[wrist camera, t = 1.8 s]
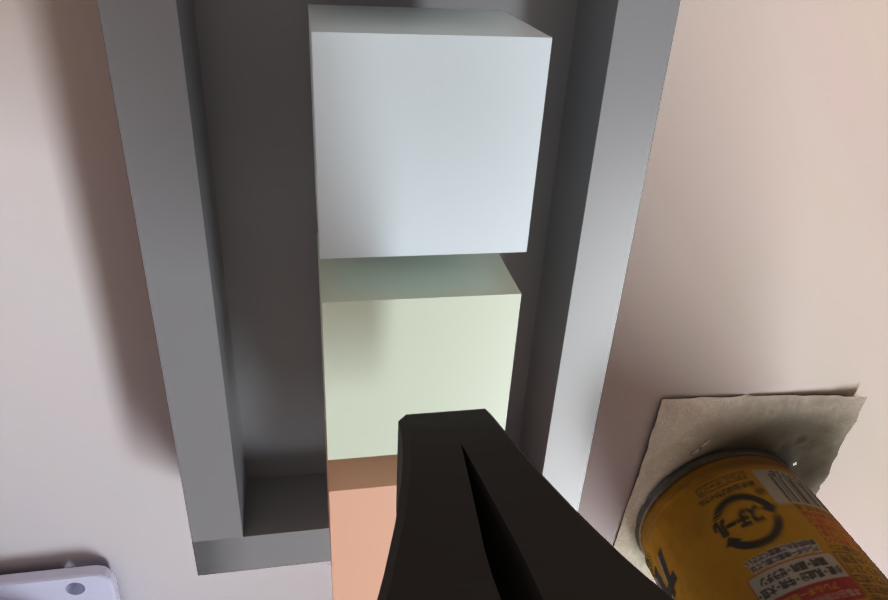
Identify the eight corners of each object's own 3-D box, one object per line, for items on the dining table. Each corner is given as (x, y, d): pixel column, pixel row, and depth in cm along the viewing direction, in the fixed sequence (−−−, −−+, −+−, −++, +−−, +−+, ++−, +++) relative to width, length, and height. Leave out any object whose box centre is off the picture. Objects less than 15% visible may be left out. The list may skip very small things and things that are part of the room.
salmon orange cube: (328, 511, 18) (333, 607, 15) (323, 402, 16) (328, 491, 14) (460, 497, 18) (486, 588, 16) (469, 392, 17) (499, 475, 14)
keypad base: (210, 489, 20) (198, 575, 18) (69, -440, 11) (1, -543, 8) (541, 459, 22) (573, 533, 20) (670, -359, 13) (765, -423, 10)
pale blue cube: (315, 194, 14) (320, 258, 11) (308, 4, 12) (310, 31, 9) (487, 191, 14) (526, 252, 12) (503, 10, 12) (552, 37, 10)
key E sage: (322, 373, 16) (327, 459, 13) (317, 232, 14) (321, 303, 12) (472, 364, 16) (503, 445, 14) (484, 228, 15) (521, 293, 12)
